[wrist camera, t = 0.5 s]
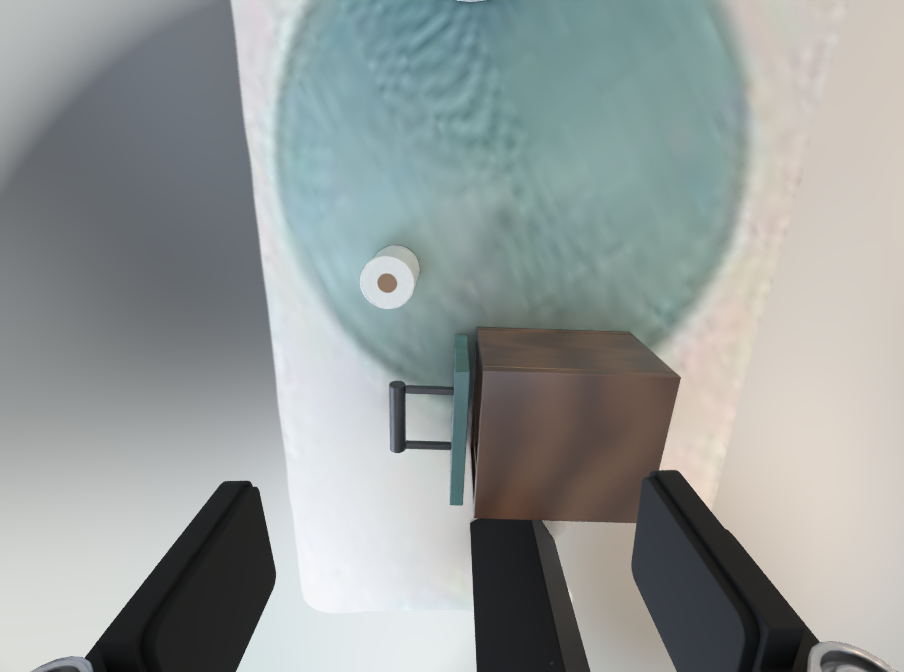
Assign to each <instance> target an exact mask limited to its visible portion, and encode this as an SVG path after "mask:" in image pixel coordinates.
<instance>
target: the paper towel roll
mask: <svg viewBox="0 0 904 672" xmlns="http://www.w3.org/2000/svg"><path fill="white" fill-rule="evenodd" d="M419 272H420V267H419V262H418V260H417V258H416V256H415V255H414V254H413V253H412V252H411V251H410V250H409V249H407V248H405V247H403V246H399V245H391V246H387V247H385V248H383V249H381V250H380V251H379V252H378V253H377V254H376V255H375V256H374V257H373V258H372V259H371V260H370V261H369V262H368V263H367V264H366V265H365V267H364V268H363V270H362V273H361V277H360V285H361V289H362V292H363V294H364V296H365V297H366V298H367V300H368V301H369V302H371V303H372V304H373V305H375V306H377V307H380V308H383V309H395V308H398V307H400V306H402V305H404V304H405V303H406V302H407V301H408V300H409V299H410V298H411V296H412V294H413V291H414V288H415V286H416V283H417V280H418V277H419Z"/></svg>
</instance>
